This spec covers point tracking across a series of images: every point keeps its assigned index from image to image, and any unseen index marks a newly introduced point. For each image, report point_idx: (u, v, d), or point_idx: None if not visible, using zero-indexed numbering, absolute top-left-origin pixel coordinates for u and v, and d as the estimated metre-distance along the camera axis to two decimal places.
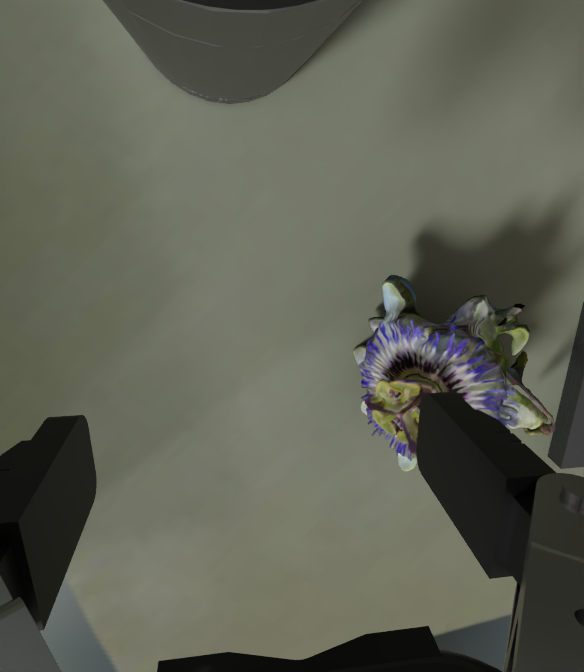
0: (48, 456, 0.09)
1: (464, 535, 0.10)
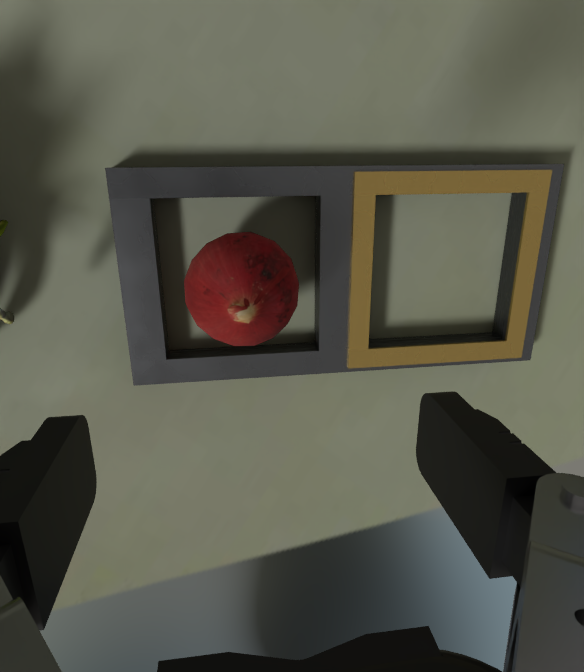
0: (48, 456, 0.09)
1: (464, 535, 0.10)
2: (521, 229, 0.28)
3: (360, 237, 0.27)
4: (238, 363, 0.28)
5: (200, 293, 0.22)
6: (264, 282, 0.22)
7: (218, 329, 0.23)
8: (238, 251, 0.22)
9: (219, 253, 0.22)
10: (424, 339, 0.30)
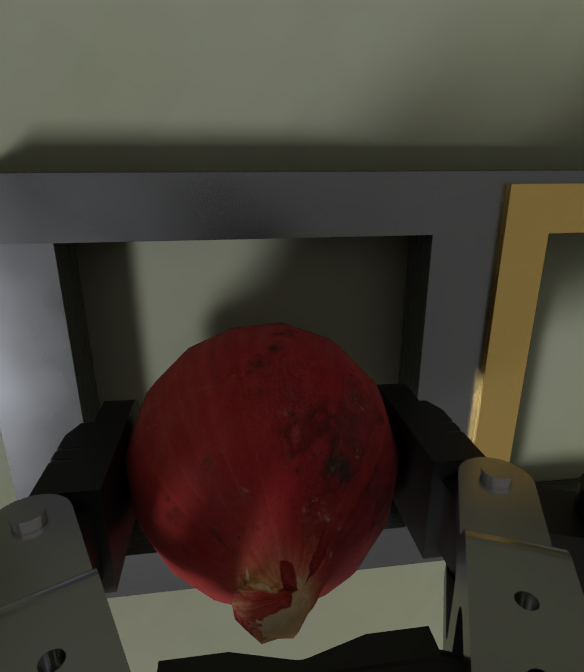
0: (113, 434, 0.10)
1: (405, 519, 0.10)
2: None
3: (507, 320, 0.13)
4: None
5: (158, 512, 0.08)
6: (334, 496, 0.08)
7: (208, 594, 0.09)
8: (260, 400, 0.08)
9: (210, 405, 0.08)
10: None
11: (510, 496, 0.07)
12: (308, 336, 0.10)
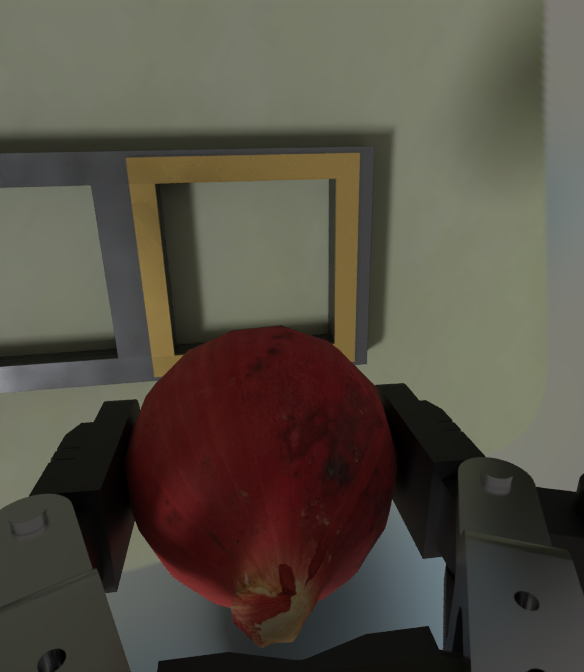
0: (114, 434, 0.10)
1: (404, 519, 0.10)
2: (335, 220, 0.25)
3: (144, 231, 0.24)
4: (25, 374, 0.25)
5: (157, 516, 0.08)
6: (332, 500, 0.08)
7: (207, 597, 0.09)
8: (260, 403, 0.08)
9: (209, 408, 0.08)
10: None
11: (510, 496, 0.07)
12: (307, 339, 0.10)
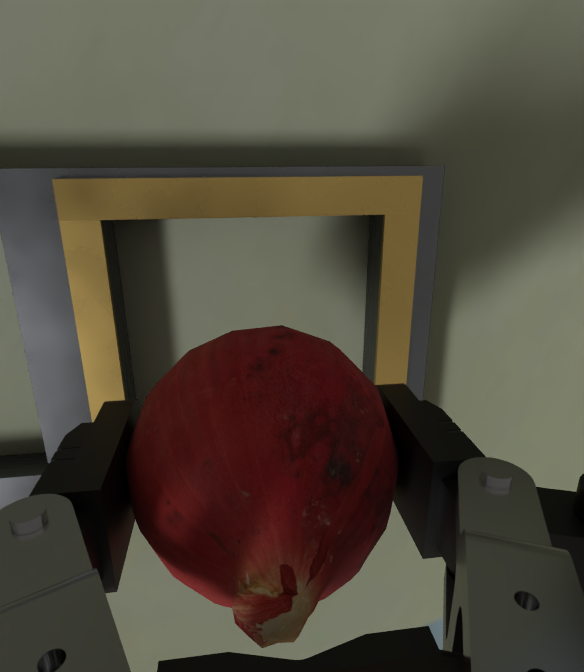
0: (114, 434, 0.10)
1: (405, 519, 0.10)
2: (379, 275, 0.17)
3: (85, 293, 0.15)
4: None
5: (158, 516, 0.08)
6: (334, 500, 0.08)
7: (208, 598, 0.09)
8: (261, 403, 0.08)
9: (210, 408, 0.08)
10: None
11: (510, 496, 0.07)
12: (308, 339, 0.10)
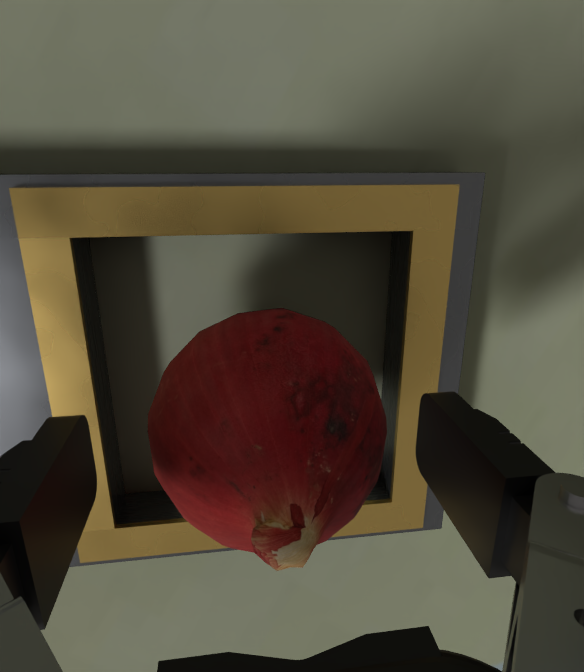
0: (49, 456, 0.09)
1: (463, 535, 0.10)
2: (405, 302, 0.14)
3: (52, 325, 0.13)
4: None
5: (182, 471, 0.10)
6: (333, 451, 0.09)
7: (225, 542, 0.10)
8: (269, 373, 0.10)
9: (225, 377, 0.10)
10: None
11: None
12: (306, 319, 0.11)
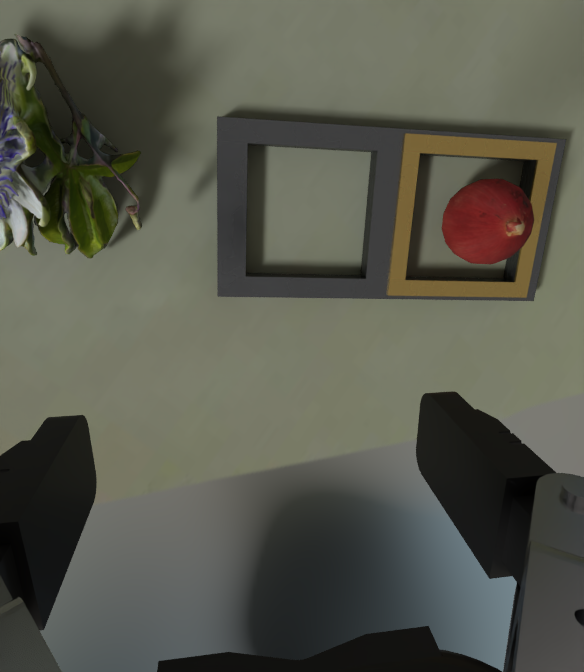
0: (48, 456, 0.09)
1: (464, 535, 0.10)
2: (530, 190, 0.35)
3: (405, 186, 0.34)
4: (301, 284, 0.35)
5: (476, 216, 0.31)
6: (525, 209, 0.30)
7: (485, 244, 0.31)
8: (503, 188, 0.31)
9: (489, 189, 0.31)
10: (448, 278, 0.38)
11: None
12: None
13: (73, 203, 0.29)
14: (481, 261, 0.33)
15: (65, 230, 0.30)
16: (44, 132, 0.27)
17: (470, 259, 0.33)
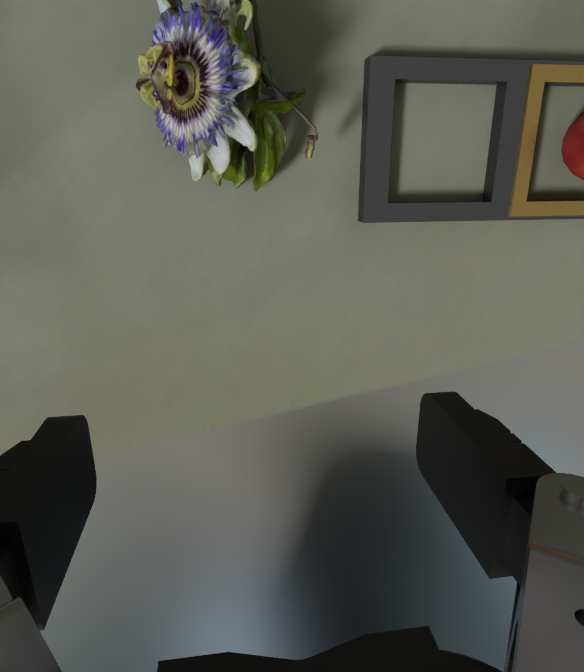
0: (48, 456, 0.09)
1: (464, 535, 0.10)
2: None
3: (530, 113, 0.38)
4: (435, 209, 0.39)
5: None
6: None
7: None
8: None
9: None
10: (561, 200, 0.41)
11: None
12: None
13: (258, 136, 0.33)
14: None
15: (246, 162, 0.34)
16: None
17: None
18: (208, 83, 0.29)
